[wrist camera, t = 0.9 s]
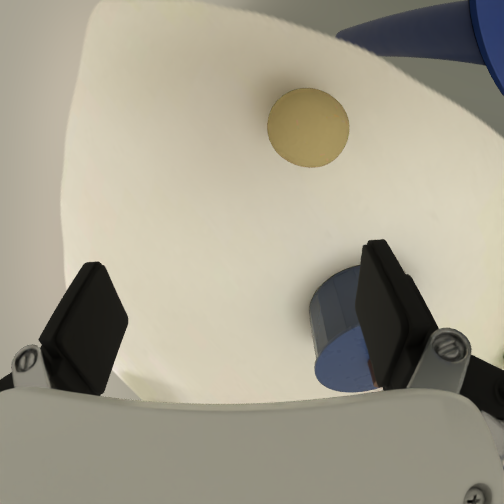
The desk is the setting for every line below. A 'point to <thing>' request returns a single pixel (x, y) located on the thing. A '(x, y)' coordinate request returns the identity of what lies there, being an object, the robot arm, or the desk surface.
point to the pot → (334, 307)
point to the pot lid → (346, 363)
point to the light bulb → (308, 127)
